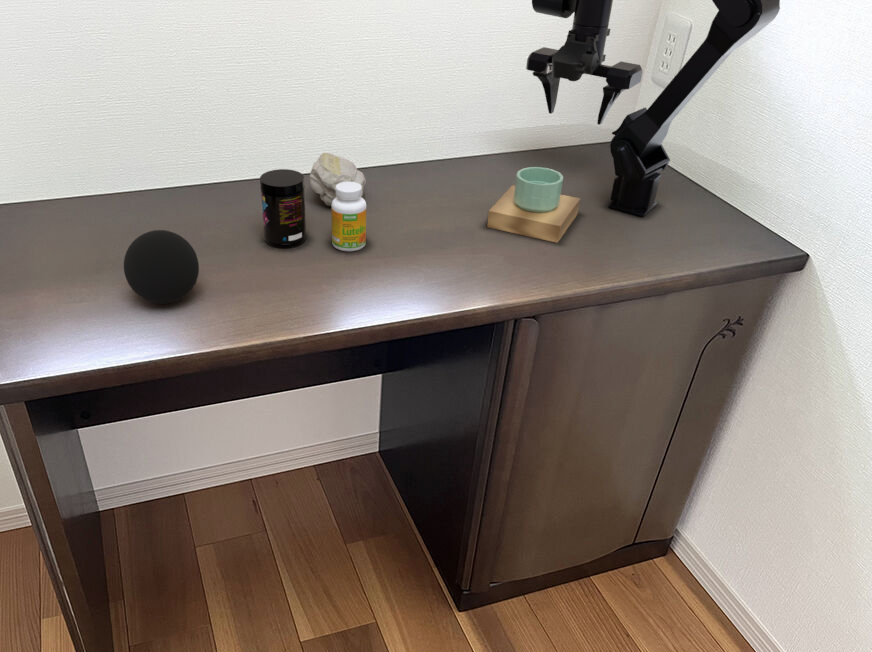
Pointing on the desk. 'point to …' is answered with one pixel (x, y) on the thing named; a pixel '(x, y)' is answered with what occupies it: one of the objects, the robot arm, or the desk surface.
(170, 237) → the decorative ball
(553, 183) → the bowl
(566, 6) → the robot arm
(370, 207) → the desk surface
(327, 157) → the fossil replica
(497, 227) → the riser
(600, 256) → the desk surface
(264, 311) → the desk surface
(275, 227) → the supplement container
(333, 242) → the supplement bottle
